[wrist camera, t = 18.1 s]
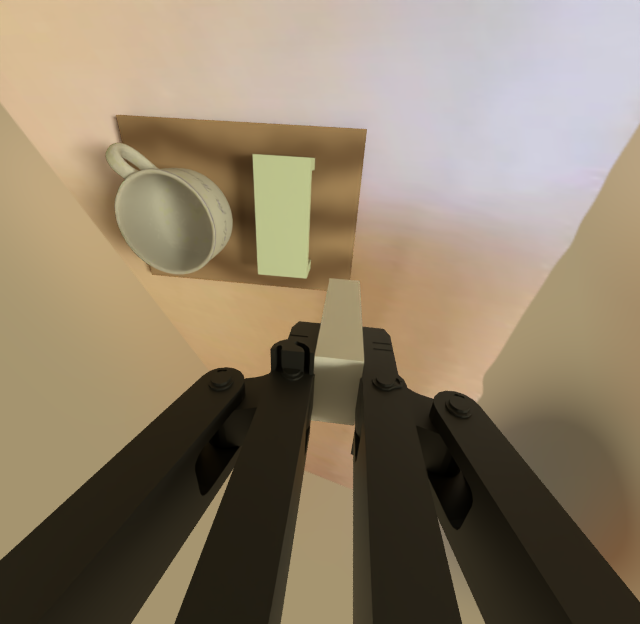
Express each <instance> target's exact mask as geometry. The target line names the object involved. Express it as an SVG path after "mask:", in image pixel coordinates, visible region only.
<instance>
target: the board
mask: <svg viewBox="0 0 640 624" xmlns="http://www.w3.org/2000/svg"><path fill="white" fill-rule="evenodd" d="M116 117H117V121H118V126H119V130H120V135H121V139H122V143H123V144H126V145H128V146H130V147H132V148H133V149H135V150H136V151H138V152H139V153H140V154H142V155H143V156H144V157H145V158H146V159H148V160H149V161H150V162H151V163H152V164H154V165H155V166H156V167H157V168H159V169H164V168H185V169H190V170H193V171H196V172H198V173H201V174H202V175H204V176H206V177H207V178H209V179H210V180H211V181H213V182H214V183H215V184H216V185H217V186H218V187H219V189H220V190H221V191H222V192H223V194H224V196H225V197H226V199H227V201H228V203H229V206H230V209H231V213H232V219H233V226H232V233H231V236H230V238H229V241H228V242H227V244H226V246H225V247H224V248H223V249H222V250H221V251H220V252H219V253H218V254H217V255H216V256H215V257H214V258H212V259H211V260H210V261H209V262H208V263H207V264H206V265H205V266H204V267H202V268H201V269H199V270H198V271H195V272H192V273H189V274H170V273H166V272H163V271H160V270H158V269H156V268H154V267H152V266H150V268H151V272H152V275H161V276H172V277H183V278H194V279H205V280H215V281H226V282H237V283H248V284H259V285H270V286H281V287H291V288H302V289H313V290H324V291H327V290H328V285H329V279H330V278H332V279H344V280H350V275H351V267H352V258H353V249H354V240H355V231H356V222H357V213H358V204H359V195H360V186H361V177H362V168H363V159H364V150H365V141H366V133H367V129H353V128H336V127H318V126H301V125H284V124H266V123H249V122H231V121H214V120H197V119H179V118H162V117H145V116H127V115H116ZM253 154H261V155H277V156H292V157H308V158H315V170H312V179H311V205H310V230H309V256H308V260H311V264H310V271H309V273H308V276H307V278H306V279H305V278H294V277H283V276H272V275H261V274H258V263H257V241H256V219H255V197H254V175H253ZM126 161H127V164H128V165H130V166H131V167H133V168H134V169H136V170H138V171H140V169H139V168H138V167H136V166H135V165H134V164H132V163H131V162H129V161H128V160H126Z"/></svg>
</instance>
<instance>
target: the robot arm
mask: <svg viewBox="0 0 640 624" xmlns="http://www.w3.org/2000/svg"><path fill="white" fill-rule="evenodd" d="M311 420H313V421H322V422H330V423H338V424H347V425H354V423H355V432H354V438H353V444H352V451H351V454H352V455H353V624H462V621H461V617H460V613H459V608H458V604H457V600H456V595H455V591H454V587H453V583H452V579H451V574H450V570H449V565H448V561H447V557H446V553H445V549H444V544H443V540H442V535H441V531H440V527H439V523H438V519H439V521H440V524H441V526H442V528H443V530H444V532H445V535H446V537H447V539H448V541H449V544H450V546H451V548H452V550H453V552H454V555H455V557H456V559H457V561H458V564H459V566H460V568H461V570H462V572H463V575H464V577H465V579H466V581H467V584H468V586H469V588H470V590H471V592H472V595H473V597H474V599H475V601H476V603H477V606H478V608H479V610H480V612H481V614H482V617H483V619H484V621H485V624H640V602H639V601H638V599H637V598H636V597H635V596H634V594H633V593H632V592H631V591H630V589H629V588H628V587H627V586H626V584H625V583H624V582H623V581H622V580H621V578H620V577H619V576H618V575H617V573H616V572H615V571H614V570H613V569H612V567H611V566H610V565H609V564H608V562H607V561H606V560H605V559H604V558H603V556H602V555H601V554H600V553H599V551H598V550H597V549H596V548H595V547H594V545H593V544H592V543H591V542H590V540H589V539H588V538H587V537H586V535H585V534H584V533H583V532H582V531H581V530H580V528H579V527H578V526H577V524H576V523H575V522H574V521H573V520H572V518H571V517H570V516H569V515H568V513H567V512H566V511H565V510H564V509H563V507H562V506H561V505H560V504H559V503H558V501H557V500H556V499H555V498H554V496H553V495H552V494H551V493H550V492H549V490H548V489H547V488H546V487H545V485H544V484H543V483H542V482H541V480H540V479H539V478H538V477H537V475H536V474H535V473H534V472H533V471H532V469H531V468H530V467H529V466H528V464H527V463H526V462H525V461H524V460H523V458H522V457H521V456H520V455H519V453H518V452H517V451H516V450H515V449H514V447H513V446H512V445H511V444H510V442H509V441H508V440H507V439H506V438H505V436H504V435H503V434H502V433H501V432H500V430H499V429H498V428H497V427H496V425H495V424H494V423H493V422H492V420H491V419H490V418H489V417H488V416H487V414H486V413H485V412H484V411H483V409H482V408H481V407H480V406H479V405H478V404H477V403H476V402H475V401H474V400H473V399H471V398H469V397H468V396H466V395H464V394H461V393H458V392H455V391H443V392H439V393H438V394H437V395H436V396H435V397H434V399H432V398H429V397H426V396H423V395H420V394H418V393H415V392H413V391H412V390H410V389H408V388H407V385H406V383H405V381H404V379H402V378H401V377H400V376H399V375H398V371H397V367H396V362H395V357H394V352H393V348H392V343H391V338H390V335H389V334H388V333H387V332H386V331H385V330H384V329H379V328H369V327H362V313H361V295H360V281H355V280H344V279H332V278H330V279H329V285H328V290H327V295H326V300H325V305H324V310H323V316H322V321H321V324H320V323H310V322H300V321H299V322H298V323H297V324H296V325H294V326H293V327H292V329H291V332H290V336H289V337H288V339H286V340H282V341H279V342H277V343H276V344H274V345H273V346H272V348H271V372H270V373H269V374H267V375H264V376H260V377H254V378H246V379H244V376H243V374H242V373H241V372H240V371H238V370H236V369H234V368H227V367H225V368H217V369H214V370H212V371H209V372H208V373H206V374H205V375H203V376H202V377H201V378H200V379H199V380H198V381H196V382H195V383H194V384H193V385H192V386H191V387H190V388H189V389H188V390H187V391H186V392H184V393H183V394H182V395H181V396H180V397H179V398H178V399H177V400H176V401H174V402H173V403H172V404H171V405H170V406H169V407H168V408H167V409H166V410H165V411H164V412H162V413H161V414H160V415H159V416H158V417H157V418H156V419H155V420H154V421H153V422H151V423H150V424H149V425H148V426H147V427H146V428H145V429H144V430H143V431H142V432H141V433H139V434H138V435H137V436H136V437H135V438H134V439H133V440H132V441H131V442H130V443H128V444H127V445H126V446H125V447H124V448H123V449H122V450H121V451H120V452H119V453H117V454H116V455H115V456H114V457H113V458H112V459H111V460H110V461H109V462H108V463H107V464H105V465H104V466H103V467H102V468H101V469H100V470H99V471H98V472H97V473H96V474H94V475H93V477H91V478H90V479H89V480H88V481H87V482H86V483H85V484H84V485H82V486H81V487H80V488H79V489H78V490H77V491H76V492H75V493H74V494H73V495H72V496H70V497H69V498H68V499H67V500H66V501H65V502H64V503H63V504H62V505H60V506H59V507H58V508H57V509H56V510H55V511H54V512H53V513H52V514H51V515H50V516H48V517H47V518H46V519H45V520H44V521H43V522H42V523H41V524H40V525H39V526H38V527H36V528H35V529H34V530H33V531H32V532H31V533H30V534H29V535H28V536H27V537H25V538H24V539H23V540H22V541H21V542H20V543H19V544H18V545H17V546H16V547H15V548H13V549H12V550H11V551H10V552H9V553H8V554H7V555H6V556H5V557H3V558H2V559H1V560H0V624H131V623H132V621H133V620H134V618H135V617H136V615H137V613H138V612H139V611H140V609H141V608H142V606H143V604H144V603H145V601H146V600H147V598H148V597H149V595H150V594H151V592H152V591H153V589H154V588H155V586H156V585H157V583H158V582H159V580H160V579H161V577H162V576H163V574H164V573H165V571H166V570H167V568H168V566H169V565H170V563H171V562H172V560H173V559H174V558H175V556H176V554H177V553H178V552H179V550H180V548H181V547H182V545H183V544H184V542H185V541H186V539H187V538H188V536H189V535H190V533H191V532H192V530H193V529H194V527H195V526H196V524H197V523H198V521H199V520H200V518H201V517H202V515H203V514H204V512H205V511H206V509H207V508H208V506H209V505H210V503H211V502H212V500H213V499H214V497H215V495H216V494H217V493H218V491H219V489H220V488H221V486H222V485H223V483H224V482H225V480H226V479H227V477H228V476H229V474H230V473H231V471H232V470H233V472H232V474H231V477H230V480H229V482H228V485H227V488H226V490H225V493H224V496H223V498H222V500H221V503H220V506H219V508H218V511H217V514H216V516H215V519H214V521H213V524H212V527H211V529H210V532H209V535H208V537H207V540H206V542H205V545H204V548H203V550H202V553H201V555H200V558H199V561H198V564H197V566H196V569H195V571H194V574H193V576H192V579H191V582H190V584H189V587H188V589H187V592H186V595H185V598H184V600H183V603H182V605H181V608H180V611H179V613H178V616H177V618H176V621H175V624H280V622H281V616H282V610H283V604H284V597H285V591H286V584H287V578H288V571H289V565H290V558H291V551H292V545H293V539H294V532H295V525H296V519H297V513H298V506H299V500H300V493H301V487H302V480H303V474H304V467H305V461H306V454H307V448H308V441H309V435H310V422H311ZM233 468H234V469H233ZM437 517H438V518H437Z"/></svg>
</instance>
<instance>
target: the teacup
mask: <svg viewBox="0 0 640 624" xmlns="http://www.w3.org/2000/svg"><path fill="white" fill-rule="evenodd" d="M123 158H124V159H126V160H128V161H129V162H131V163H132V164H134V165H135V166H136V167H138V168H139V169H140V171H138V170H136V169H134V168H133V167H131V166H130V165H128V164H127V163H126V162H125V161H124V159H123ZM106 160H107V162H108V163H109V165H110V166H111V168H112V169H113V170H114V171H115V172H116V173H117V174H119V175H120V176H121V177H123V178H124V179H125V180H124V181H123V182H122V184H121V186H120V187H119V189H118V192H117V195H116V198H115V216H116V220H117V224H118V227H119V229H120V232H121V234H122V236H123V237H124V239H125V241H126V243H127V244H128V245H129V247H130V248H131V249H132V250H133V251H134V253H135V254H136V255H137V256H138V257H139V258H141V259H142V260H143V261H144V262H146V263H147V264H149V265H150V266H152V267H154V268H156V269H158V270H160V271H163V272H166V273H170V274H189V273H192V272H195V271H198V270H199V269H201V268H202V267H204V266H205V265H206V264H207V263H208V262H209V261H210V260H211V259H212V258H214V257H215V256H216V255H217V254H218V253H219V252H220V251H221V250H222V249H223V248H224V247H225V246H226V244H227V242H228V241H229V238H230V236H231V233H232V226H233V219H232V213H231V209H230V206H229V203H228V201H227V199H226V197H225V196H224V194H223V192H222V191H221V190H220V189H219V187H218V186H217V185H216V184H215V183H214V182H213V181H211V180H210V179H209V178H207V177H206V176H204V175H202V174H201V173H198V172H196V171H193V170H190V169H185V168H164V169H159V168H157V167H156V166H155V165H154V164H152V163H151V162H150V161H149V160H148V159H146V158H145V157H144V156H143V155H142V154H140V153H139V152H138V151H136V150H135V149H133V148H132V147H130V146H128V145H126V144H123V143H115V144H112V145H111V146H110V147H109V148H108V149H107V151H106Z"/></svg>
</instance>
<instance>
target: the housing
mask: <svg viewBox="0 0 640 624" xmlns="http://www.w3.org/2000/svg"><path fill="white" fill-rule="evenodd" d="M312 170H315V158H308V157H292V156H277V155H261V154H253V175H254V197H255V219H256V241H257V263H258V274H261V275H272V276H283V277H294V278H305V279H306V278H307V276H308V273H309V271H310V264H311V260H308V256H309V230H310V205H311V179H312Z"/></svg>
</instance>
